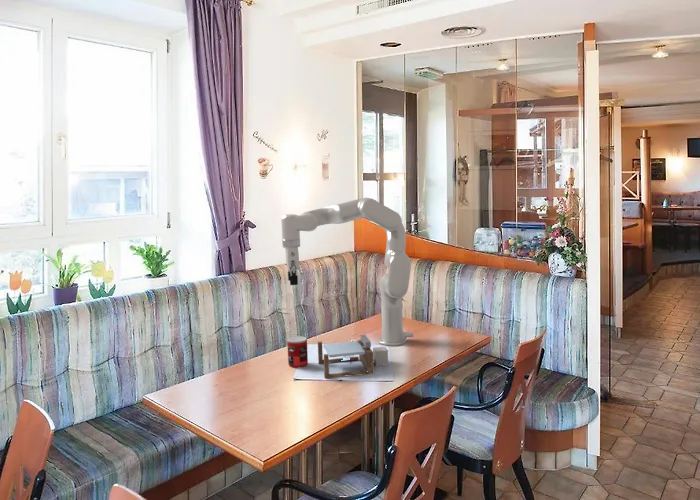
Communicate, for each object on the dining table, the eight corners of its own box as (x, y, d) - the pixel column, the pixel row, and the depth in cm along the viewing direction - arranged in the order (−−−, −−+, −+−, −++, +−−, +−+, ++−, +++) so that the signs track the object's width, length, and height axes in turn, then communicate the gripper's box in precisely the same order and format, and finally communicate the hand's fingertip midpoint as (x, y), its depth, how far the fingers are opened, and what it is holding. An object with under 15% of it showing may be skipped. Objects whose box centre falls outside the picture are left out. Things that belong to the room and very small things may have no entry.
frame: (363, 358, 243) (363, 337, 241) (373, 373, 225) (373, 351, 224) (318, 362, 239) (317, 341, 238) (325, 378, 221) (324, 355, 220)
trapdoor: (364, 342, 240) (364, 333, 239) (372, 353, 226) (371, 343, 225) (324, 346, 236) (323, 337, 236) (329, 357, 223) (329, 347, 222)
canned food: (288, 362, 241) (287, 336, 239) (307, 361, 242) (306, 335, 240) (288, 368, 233) (286, 342, 232) (308, 367, 234) (307, 341, 232)
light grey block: (385, 360, 240) (384, 346, 239) (388, 364, 235) (387, 350, 234) (373, 361, 239) (372, 347, 238) (376, 365, 234) (375, 351, 233)
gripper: (302, 245, 241) (303, 286, 243) (298, 240, 257) (299, 278, 260) (283, 246, 239) (285, 287, 242) (281, 241, 256) (282, 279, 259)
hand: (293, 282), depth 251 cm, fingers open, 9 cm apart
